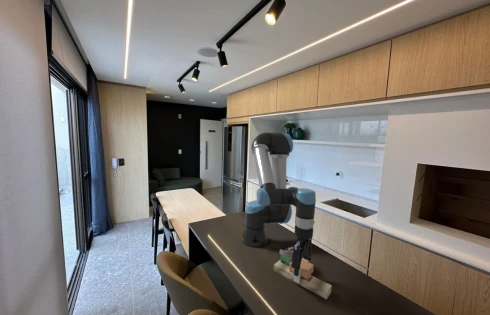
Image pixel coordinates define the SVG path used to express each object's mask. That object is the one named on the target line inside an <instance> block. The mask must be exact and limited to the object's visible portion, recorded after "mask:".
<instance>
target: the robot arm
mask: <svg viewBox="0 0 490 315" xmlns="http://www.w3.org/2000/svg"><path fill="white" fill-rule="evenodd" d="M250 148H251V154H252V155H253V156H254V162H255V167H256V168H255V169H256V173H257V178H258V185H259V188H258V189H257V190H256V200H251V201H249V202H248V203H247V204H246V207H245V226H244V229H243V233H242V235H241V241H242V243H243V244H244V245H247V246H249V247H252V248H253V247H257V248H258V247H262V246H265V245H267V243H268V236H267V231H266V225H271V224H273V225H274V224H275V225H277V224H279V225H280V224H282V225H283V224H288V223H289V222H290V221H291V219H292V216H293V215H292V214H293V209H292V206H293V207H295V217H294V235H295V236H296V237H297V239H296V244H295V243H293V245H292V246H293V256H292V265H291V267H292V268H294V278H293V281H292V282H294V281H295V282H297V283H298V285H299V284H300V277H301V268H300V265H301V260H304V261H307V262H309V261H311V260H312V258H311V257H312V245H313V243H312V240H313V238H314V224H316V223H315V222H316V221H315V214H316V213H315V212H316V202H317V199H316V191H315V190H313V189H310V188H299V187H296V186H289V187H287V162H288V161H287V158H288V157H289V156H290V153H292V152H293V149H294V140H293V139H292V136H291V135H290V134H289V133H285V132H262V133H260V134H258V135H256V136H255V138H254V139H253V141H252V143H251V147H250ZM269 156H270V157H271V159H272V160H271V161H270V158H269ZM300 248H301V249H300ZM309 263H310V262H309ZM295 282H294V283H295ZM297 283H296V284H297Z"/></svg>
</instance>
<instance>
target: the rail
mask: <svg viewBox="0 0 490 315" xmlns="http://www.w3.org/2000/svg"><path fill="white" fill-rule="evenodd" d="M273 271H274V272H276V273H277V274H279V275H282V276H283V277H284V276H285V278H286V279H288V280H289V281H291V282H294V283H295V284H296V285H297V284H298V283H297V282H295V281H293V278H294V273H292V271H290V270H289V265H286V264H283V263H281V262H280V259H279V260H278V261H276V263H274V264H273ZM298 285H299V286H300V287H303V288H304V289H306V290H308V291H310V292H312V293H313V294H315V295H318V296H320V297H322V299H323V298H324V300H328V298H329V296H330V295H331V293H332V287H333V286H332V285H333V284H332V285H331V284H330V283H327V282H325V281H323V280H321V278H317V277H315V276H313V275H311V276H310V281H307V280H305V279H304V277H302V276H301V277H300V284H298Z"/></svg>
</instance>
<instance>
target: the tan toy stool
mask: <svg viewBox="0 0 490 315" xmlns="http://www.w3.org/2000/svg"><path fill="white" fill-rule="evenodd" d="M291 265H292V261H291V262H290V263H289V270H290V271H292V273H294V268H292V267H291ZM314 265H315V264H313V263H311V262H307V261H304V260H301V265H300V268H301V276H302V277H304V279H305V280H307V281H310V276H312V274H313V272H314V268H315V266H314Z"/></svg>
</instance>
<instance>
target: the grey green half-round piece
mask: <svg viewBox="0 0 490 315" xmlns="http://www.w3.org/2000/svg"><path fill="white" fill-rule="evenodd" d="M300 249H301V248H300ZM278 253H279V255H280V256H279V260H280V262H281V263H283V264H286V265H289V263H290V262H291V261H292V256H293V245H292V246H288V247H286V248H284V249H281V248H280V249H279V252H278Z"/></svg>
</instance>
